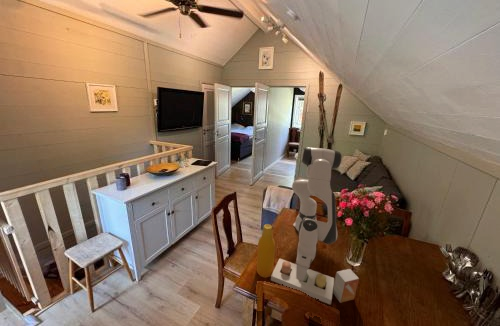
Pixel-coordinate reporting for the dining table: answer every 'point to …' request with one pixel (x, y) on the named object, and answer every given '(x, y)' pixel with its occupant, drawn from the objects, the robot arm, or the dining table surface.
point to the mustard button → (320, 281)
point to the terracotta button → (286, 268)
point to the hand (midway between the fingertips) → (303, 273)
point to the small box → (345, 285)
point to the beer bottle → (266, 252)
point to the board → (303, 286)
